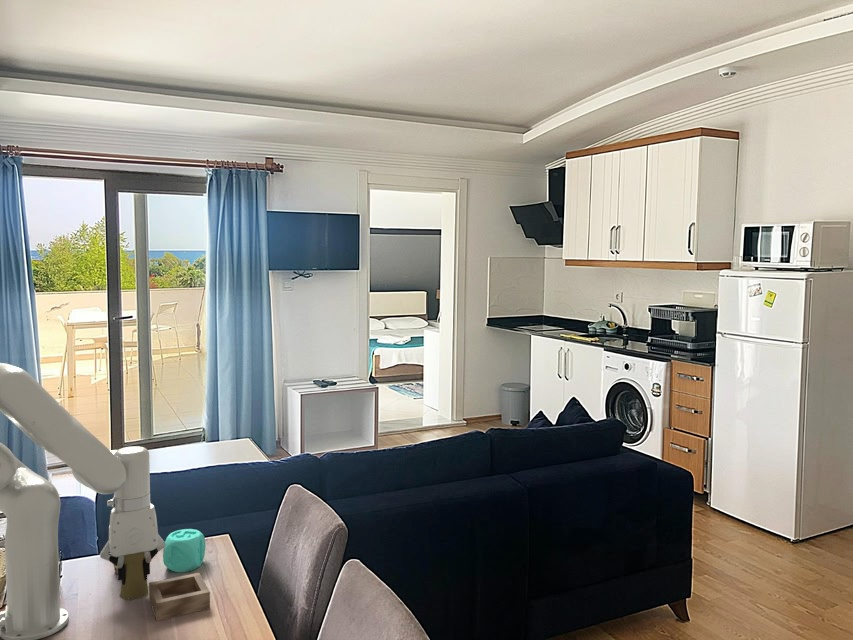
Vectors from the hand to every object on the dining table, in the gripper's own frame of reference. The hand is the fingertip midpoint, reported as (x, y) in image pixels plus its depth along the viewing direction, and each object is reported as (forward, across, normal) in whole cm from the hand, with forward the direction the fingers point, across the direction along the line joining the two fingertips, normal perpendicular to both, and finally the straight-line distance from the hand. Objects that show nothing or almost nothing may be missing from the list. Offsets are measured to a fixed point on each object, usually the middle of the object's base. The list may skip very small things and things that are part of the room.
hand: (134, 579), depth 159 cm
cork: (+3, 0, 0) cm, 3 cm away
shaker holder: (+3, +8, -10) cm, 13 cm away
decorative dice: (+4, +13, +10) cm, 17 cm away
